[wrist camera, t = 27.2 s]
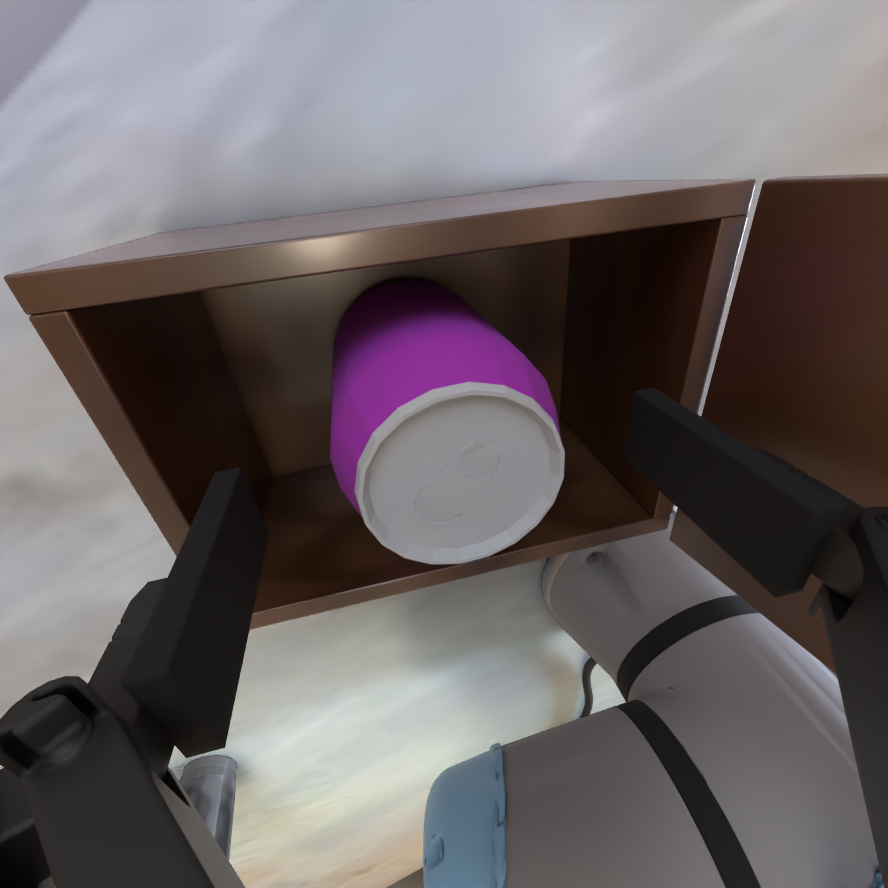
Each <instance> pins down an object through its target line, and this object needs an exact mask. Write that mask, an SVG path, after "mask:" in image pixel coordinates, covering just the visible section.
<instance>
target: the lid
mask: <svg viewBox="0 0 888 888" xmlns="http://www.w3.org/2000/svg"><path fill="white" fill-rule="evenodd" d="M701 417H702V418H704V419H705V420H707V421H709V422H710V423H712V424H714V425H715V426H717V427H718V428H720V429H722V430H723V431H725V432H727V433H728V434H730V435H731V436H733V437H735V438H736V439H738V440H740V441H741V442H743V443H745V444H746V445H748V446H749V447H751V448H757V449H760V450H763V451H766V452H768V453H771V454H774V455H777V456H778V457H780V458H782V459H783V460H785V461H787V462H788V463H790V464H792V465H793V466H794V468H798V469H800V470H802V471H803V472H805V473H807V474H808V476H809V477H813V478H815V479H817V480H818V481H820V482H822V483H824V484H825V485H827V486H829V487H830V488H832V489H834V490H835V491H837V492H839V493H840V494H842V495H844V496H845V497H847V498H849V499H850V500H852V501H854V502H855V503H857V504H859V505H860V506H862V507H864V508H869V507H876V506H878V507H888V174H864V175H834V176H803V177H782V178H776V179H769V180H766V181H764V182H763V184H762V188H761V192H760V195H759V199H758V203H757V207H756V211H755V214H754V218H753V222H752V226H751V230H750V233H749V237H748V241H747V245H746V249H745V253H744V256H743V260H742V264H741V268H740V272H739V275H738V279H737V283H736V287H735V291H734V294H733V298H732V302H731V306H730V310H729V314H728V317H727V321H726V325H725V329H724V333H723V336H722V340H721V344H720V348H719V352H718V355H717V359H716V363H715V367H714V371H713V374H712V378H711V382H710V386H709V390H708V394H707V397H706V401H705V405H704V409H703V413H702V416H701ZM669 539H670V541H671V542H672V543H674V544H675V545H676V546H677V547H679V548H680V549H681V550H682V551H684V552H685V553H686V554H687V555H689V556H690V557H691V558H692V559H694V560H695V561H696V562H697V563H699V564H700V565H701V566H702V567H703V568H705V569H706V570H707V571H708V572H710V573H711V574H712V575H713V576H715V577H716V578H717V579H718V580H720V581H721V582H722V583H723V584H725V585H726V586H727V587H728V588H730V589H731V590H732V591H733V592H735V593H736V594H737V595H738V596H740V597H741V598H742V599H743V600H744V601H746V602H747V603H748V604H749V605H751V606H752V607H753V608H754V609H756V610H757V611H758V612H759V613H761V614H762V615H763V616H764V617H766V618H767V619H768V620H769V621H771V622H772V623H773V624H774V625H776V626H777V627H778V628H779V629H780V630H782V631H783V632H784V633H785V634H787V635H788V636H789V637H790V638H792V639H793V640H794V641H795V642H797V643H798V644H799V645H800V646H802V647H803V648H804V649H805V650H807V651H808V652H809V653H810V654H812V655H813V656H814V657H815V658H817V659H818V660H819V661H820V662H821V663H823V664H824V665H825V666H826V667H828V668H829V669H830V670H831V671H833V672H834V673H835V674H836V669H835V665H834V660H833V656H832V651H831V647H830V642H829V638H828V633H827V629H826V624H825V620H824V619H822V616H823V611H822V607H820V608H818V610H817V611H816V613H815V615H814V616H810V615H808V611H809V607H810V605H811V604H812V602H813V600H814V598H815V596H816V594H817V592H818V591H819V589H820V587H821V585H822V583H823V582H822V581H820V580H819V579H818V578H817V577H816V576H814V575H813V574H812V573H811V574H810V576H809V578H808V580H807V582H806V584H805V586H804V588H803V590H802V591H799V592H795V593H792V594H788V595H784V596H781V597H777V598H775V597H774V596H773V595H772V594H770V593H769V592H768V591H767V590H766V589H765V588H764V587H763V586H762V585H761V584H760V583H759V582H757V581H756V580H755V579H754V578H753V577H752V576H751V575H750V574H749V573H748V572H747V571H746V570H745V569H743V568H742V567H741V566H740V565H739V564H738V563H737V562H736V561H735V560H734V559H733V558H732V557H730V556H729V555H728V554H727V553H726V552H725V551H724V550H723V549H722V548H721V547H720V546H719V545H718V544H716V543H715V542H714V541H713V540H712V539H711V538H710V537H709V536H708V535H707V534H706V533H705V532H703V531H702V530H701V529H700V528H699V527H698V526H697V525H696V524H695V523H694V522H693V521H692V520H690V519H689V518H688V517H687V516H686V515H685V514H684V513H683V512H682V511H681V510H680V509H679V508H677V512H676V515H675V519H674V523H673V527H672V531H671V535H670V538H669ZM836 675H837V674H836Z"/></svg>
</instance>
